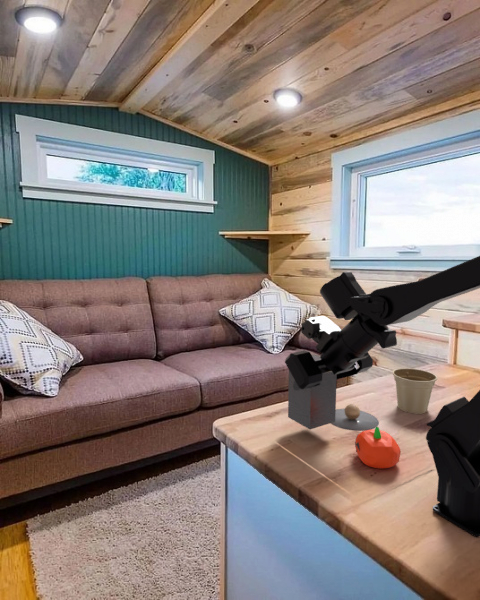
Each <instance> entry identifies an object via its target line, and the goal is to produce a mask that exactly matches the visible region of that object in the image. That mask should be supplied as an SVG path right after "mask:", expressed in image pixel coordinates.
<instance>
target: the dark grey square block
mask: <svg viewBox="0 0 480 600" xmlns="http://www.w3.org/2000/svg"><path fill="white" fill-rule="evenodd" d="M311 355H312V357H313V358H314V360H315V361H318V360H321V358H320V357H319V356H320V355H317V354H315V353H313V354H311ZM294 380H295V379H294V378H293V376H292V374H291V372H290V371H289V370H288V394H287V395H288V397H287V398H288V399H287V400H288V402H287V405H288V407H287V409H288V411H287V416H288V417H287V418H289V419H291V420H292V421H294V422H296V423H297V424H300V425H301V426H303V427H305V428H306V429H308V430H312V429H316V428H319V427H323V426H325V425H329V424H331V423H333V422H335V414H336V409H337V408H336V407H337V380H338V379H337V374H336V375H334V374H333V372H332V371H331V372H328V373H324V374H322V381H321V382H320V385H318V386H315V387H312V388H306V389H301V390H296V391H295V390H294V388H293V383H294Z"/></svg>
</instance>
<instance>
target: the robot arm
mask: <svg viewBox="0 0 480 600" xmlns="http://www.w3.org/2000/svg"><path fill="white" fill-rule="evenodd" d="M478 289H480V255H479V256H476V257H474V258H471V259H469V260H466V261H464V262H461V263H459V264H456V265H454V266H451V267H450V268H447V269H445V270H442V271H440V272H437V273H435V274H433V275H429V276H427V277H425V278H423V279H420V280H417V281H413V282H412V281H411V282H407V283H401V284H396V285H390V286H385V287H380V288H377V289H374V290H373V291H372V292H370V293H366V292H365V290H364V289H363V287H362V286H361V285H360V283H359V282H358V281H357V278H356V277H355V275H354V274H353V272H352V271H343V272H342V273H341V274H340V275H338V276H336V277H334V278H333V279H330V281H329V280H328V282H325V283H324V284H323V285H322V286H321V287H320V289H319V294H320V295H321V297H322V299H323V300H324V301H325V303H326V305H327V306H328V307H329V309H330V311H331V312H332V314H333V315H334V316H335V319H339V320H340V319H343V320H344V321H349V320H350V321H349V322H348V323H347V324H346V325H345V326H344V327H343V328H340V327H339V325H338V324H336V322H333V320H331V319H330V318H329V317H327V316H325V315H317V316H312V317H311V316H310V317H309V318H307V319H305V321H304V322H302V323H301V327H300V332H301V334H302V335H303V336H305V337H306V338H307V339H308V340H310V339H311V340H312V341H314V343H316V345H315V349H316V351H317V353H320V355H318V356H319V357H320V358H321V360H318V361H315V360H314V358H313V357H312V355H313V354H312V353H311V352H310V351H307V350H299V351H295V352H291V353H289V354H288V355H287V357H286V358H285V360H284V364H285V365H286V367H287V369H288V372H289V371H290V372H291V374H292V376H293V378H294V379H295V380H294V383H293V388H294V390H295V391H296V390H301V389H306V388H312V387H315V386H318V385H320V382H321V381H322V374H324V373H328V372H331V371H332V372H333V374H334V375H336V374H337V380H341V379H344V378H348V377H352V376H355V375H358V374H360V373H364V372H367V371H369V369H371V368H372V367H373V366H374V365H373V364H374V363H373V361H374V359H373V358H372V356H371V355H370V354H369V352H370V351H371V350H372V349H373V348H375V346H377V345H379V347H381V349H387V348H393V347H395V346H397V345H398V340H397V339H398V338H397V335H396V334H397V331H396V330H395V329H394V330H392V329H390V327H389V326H392V325H396V324H401V323H406V322H410V321H412V320H415V319H416V318H417V317H419V316H421V315H423V314H425V313H426V312H427V311H429V310H431V308H433V307H435V306H436V305H438V304H439V303H442V302H445V301H448V300H450V299H453V298H455V297H459V296H462V295H465V294H467V293H470V292H473V291H476V290H478ZM356 365H358V367H356ZM426 426H428V427H429V429H428V430H427V432H426V436H425V440H426V443H427V447H428V449H429V451H430V453H431V454H432V458H433V461H434V467H435V469H436V474H437V477H438V479H437V492H436V500H437V502H438V503H436V504H434V505H433V506H432V511H433V512H434V513H436V514H437V515H439V516H441V517H442V518H443V519H446V520H448V521H449V522H450V523H452V524H454V525H456V526H457V527H458V528H461V529H462V530H463V531H465V532H468V533H469V534H470V535H472V536H473V537H477V538H479V537H480V389H479V390H478V391H477V392H476V393H475V395H473V397H472V398H471V399H470V400H468V399H467V397H466V396H462V397H460V398H458V399H455V400H453V401H451V402H448V403H446V404H444V405H443V406H442V407H441V409H440V410H439V412H438V413H437V415H436V417H435V419H434V420H431V421H430V422H427V423H426Z"/></svg>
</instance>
